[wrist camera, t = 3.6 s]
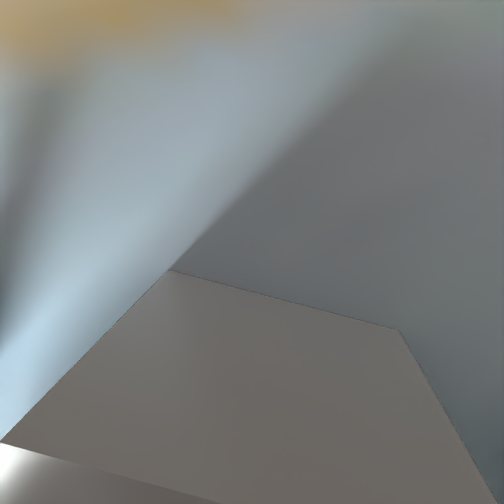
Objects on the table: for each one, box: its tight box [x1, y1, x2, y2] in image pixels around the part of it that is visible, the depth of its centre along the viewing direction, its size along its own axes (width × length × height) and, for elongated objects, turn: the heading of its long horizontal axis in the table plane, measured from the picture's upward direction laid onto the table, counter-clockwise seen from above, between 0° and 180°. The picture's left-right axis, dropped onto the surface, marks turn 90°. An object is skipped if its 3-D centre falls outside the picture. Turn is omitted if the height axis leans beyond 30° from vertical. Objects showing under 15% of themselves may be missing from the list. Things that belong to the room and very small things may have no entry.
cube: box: [0, 270, 498, 504], centre depth 8 cm, size 5×5×6 cm
